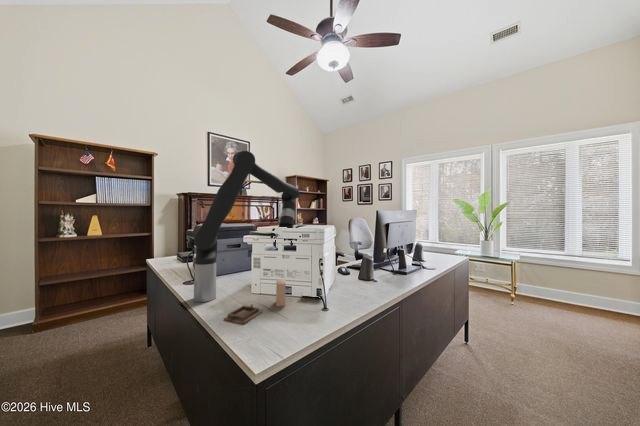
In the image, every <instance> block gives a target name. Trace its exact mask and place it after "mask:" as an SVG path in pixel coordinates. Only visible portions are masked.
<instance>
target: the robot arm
mask: <svg viewBox="0 0 640 426" xmlns="http://www.w3.org/2000/svg"><path fill="white" fill-rule="evenodd" d="M232 163H233V168H232V170H231V172H230V174H229V175H228V177H227V178H226V179H225V180H224V182H223V183H222V184H221V185H220V187H219V189H218V190H217V192H216V194H215V196H214V198H213V200H212V203H211V205H210V207H209V209H208V212H207V215H206V218H204V221H203V223H202V224H201V226H200V227H199V228H198V230H197V232H196V233H195V235H194V237H193V243H194V246H195V247H196V253H195V256H194V257H195V259H194V281H193V302H194V303H195V302H197V303H204V302H205V303H206V302H210V301H213V300H215V299H216V298H217V255H218V233H219V230H220V228H221V226H222V224H223V222H224V221H225V220H226V219H227V218H228V216H229V213H230V212H231V210H232V209H233V207H234V206H235V204H236V201H237V198H238V196H239V194H240V192H241V190H242V188H243V186H244V183H245V181H246V180H247V178H248V176H249V175H251V176H252V177H254V178H256V179H257V180H259V181H260V182H261V183H262V184H264V185H266V186H267V187H268V188H270V189H271V190H273V191H274V192H276V193H277V194H280V193H281V204H282V207H281V213H280V216H279V222H278V228H279V227H287V228H299V226H297V225H296V226H295V227H294V224H295V219H296V218H295V217H296V214H295V212H296V204H295V202H294V201H295V200H296V199H297V198H299V197H300V194H301V193H300V190H299V188H297V187H296V186H295V185H292V184H291V183H288V182H285V181H283V179H281V178H279V177H278V176H277V175H275V174H273V173H272V172H270V171H268V170H267V169H265V168H263V167H262V166H260V165H258V164H257V163H256V157H255V154H254V153H253V152H252V151H249V150H241V151H237V152H236V153H234V155H233V157H232ZM275 229H276V228H274V227H273V228H272V230H271V234H270V239H271V238H273V236H274V233H272V231H274V230H275ZM278 235H279V234H277V233H276V235H275V237H274V239H275V238H277V237H278ZM279 236H280V235H279ZM272 242H273V244H272V246H273V247H274V248H275V249H277V248H278V246H277V247H276V240H275V242H274V241H272ZM289 245H290V247H291V246H292V245H293V243H292V241H291V240H290V244H289Z"/></svg>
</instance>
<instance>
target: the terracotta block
mask: <svg viewBox="0 0 640 426" xmlns="http://www.w3.org/2000/svg"><path fill="white" fill-rule="evenodd" d="M275 284H276V288H275V289H276V290H275V291H276V292H275V294H276V297H275V301H276V302H275V307H286V284H287V283H286V279H276V283H275Z"/></svg>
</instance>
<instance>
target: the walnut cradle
mask: <svg viewBox="0 0 640 426" xmlns="http://www.w3.org/2000/svg"><path fill="white" fill-rule="evenodd" d="M262 313H263V310H260V308H258V307H255V306H254V304H253V303H251V304H250V306H249V305H248V306H247V305H242V306H239V307H238V308H237V309H235V310H233V311H232V312H230V313H228V314H227V316H225V317H223V321H225V322H231V323H234V324H240V325H243V326H244V325H246V324H248V323H249V322H250V321H252V320H253V319H255V318H256V317H258V316H259V315H261V314H262Z"/></svg>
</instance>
